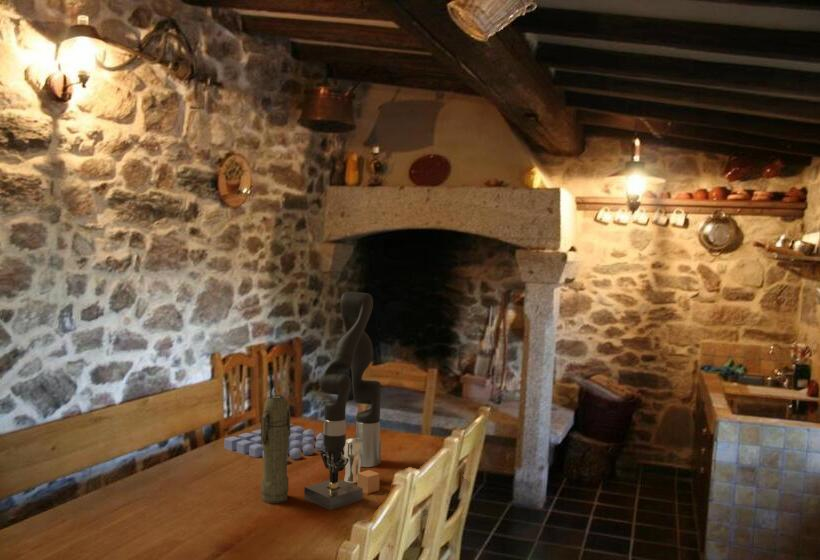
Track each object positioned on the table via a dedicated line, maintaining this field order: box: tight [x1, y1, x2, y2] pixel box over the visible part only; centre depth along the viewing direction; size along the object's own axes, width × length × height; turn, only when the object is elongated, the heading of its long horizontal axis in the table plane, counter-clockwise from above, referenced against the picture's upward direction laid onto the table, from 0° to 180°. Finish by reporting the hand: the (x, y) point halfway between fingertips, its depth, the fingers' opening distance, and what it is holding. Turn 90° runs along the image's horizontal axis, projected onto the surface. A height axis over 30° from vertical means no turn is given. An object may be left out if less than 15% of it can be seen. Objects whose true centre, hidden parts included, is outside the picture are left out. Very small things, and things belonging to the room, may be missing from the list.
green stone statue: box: [260, 394, 291, 504], centre depth 236 cm, size 9×12×35 cm
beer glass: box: [343, 437, 362, 484], centre depth 257 cm, size 7×7×15 cm
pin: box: [329, 482, 338, 490], centre depth 238 cm, size 3×3×4 cm
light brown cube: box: [356, 469, 381, 494], centre depth 248 cm, size 6×6×6 cm
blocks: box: [223, 423, 325, 462], centre depth 296 cm, size 35×34×5 cm
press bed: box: [303, 478, 364, 511], centre depth 238 cm, size 14×14×4 cm
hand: (333, 482), depth 237 cm, fingers closed
